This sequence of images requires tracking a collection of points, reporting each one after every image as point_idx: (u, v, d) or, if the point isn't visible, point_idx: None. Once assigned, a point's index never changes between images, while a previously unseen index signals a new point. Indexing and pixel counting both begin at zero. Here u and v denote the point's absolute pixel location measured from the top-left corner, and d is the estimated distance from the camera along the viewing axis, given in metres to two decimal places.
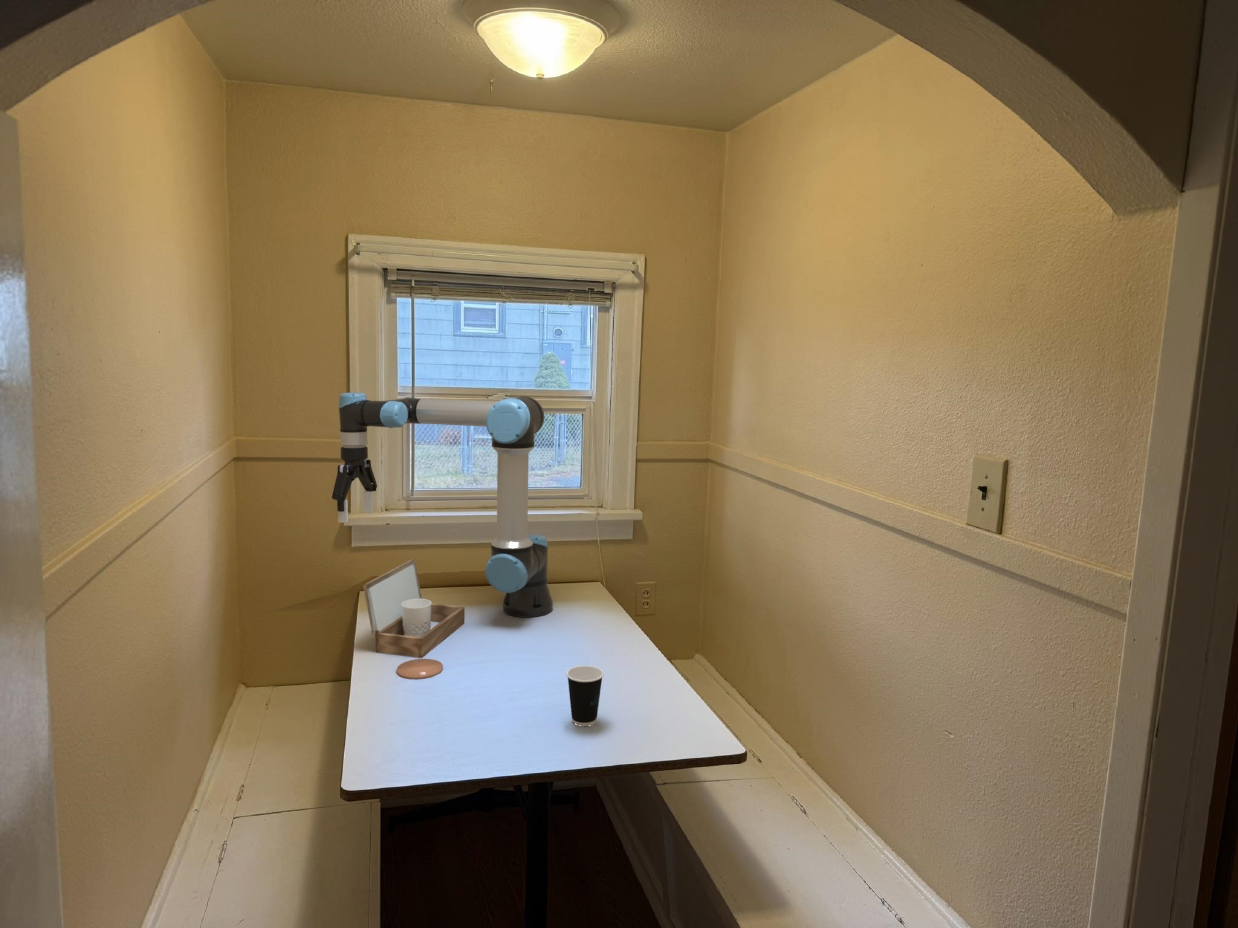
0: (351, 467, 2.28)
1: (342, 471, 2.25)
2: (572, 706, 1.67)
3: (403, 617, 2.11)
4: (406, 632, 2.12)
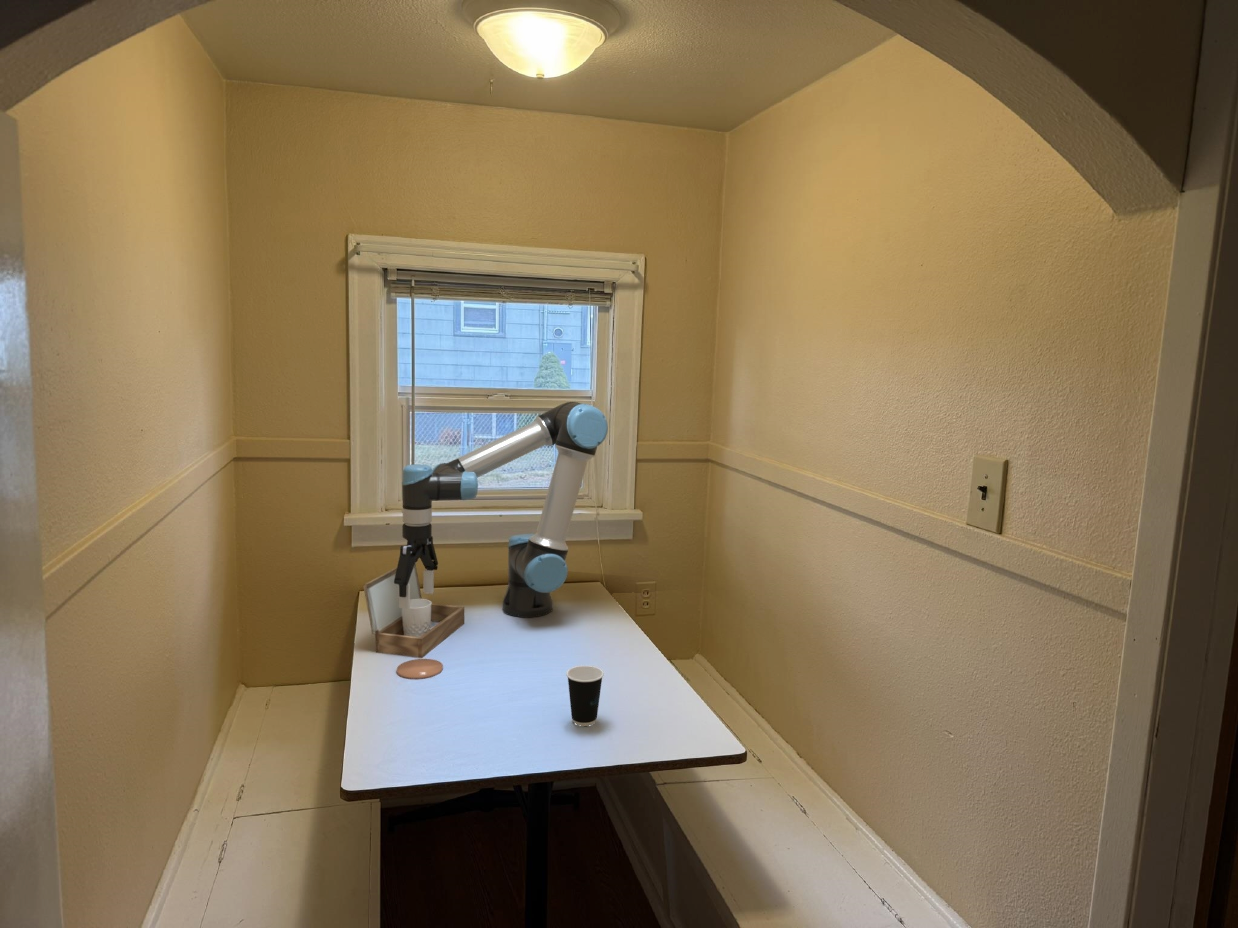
0: (414, 547, 2.07)
1: (405, 553, 2.04)
2: (572, 706, 1.67)
3: (403, 617, 2.11)
4: (406, 632, 2.12)
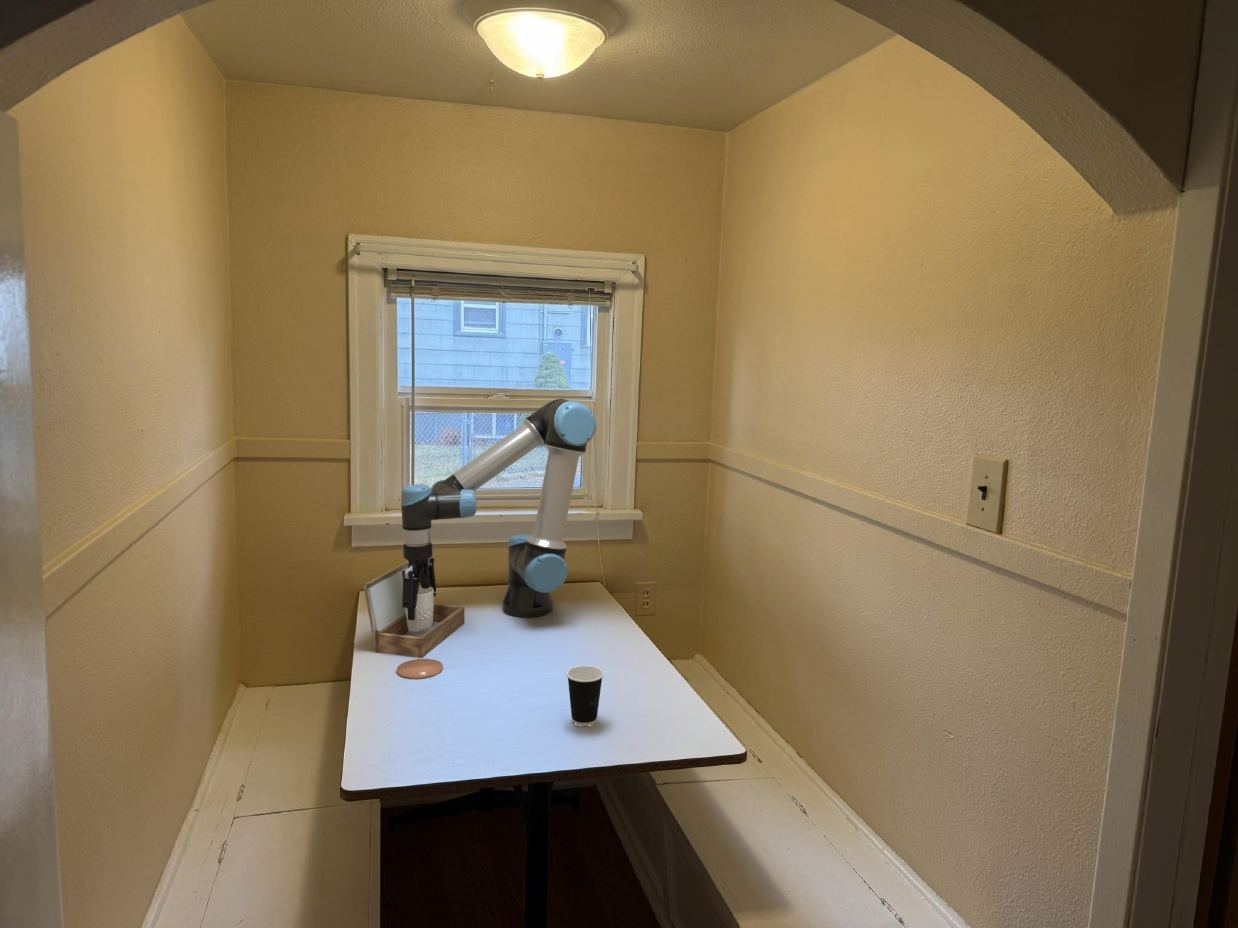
0: (416, 568, 2.08)
1: (408, 577, 2.06)
2: (572, 706, 1.67)
3: None
4: None
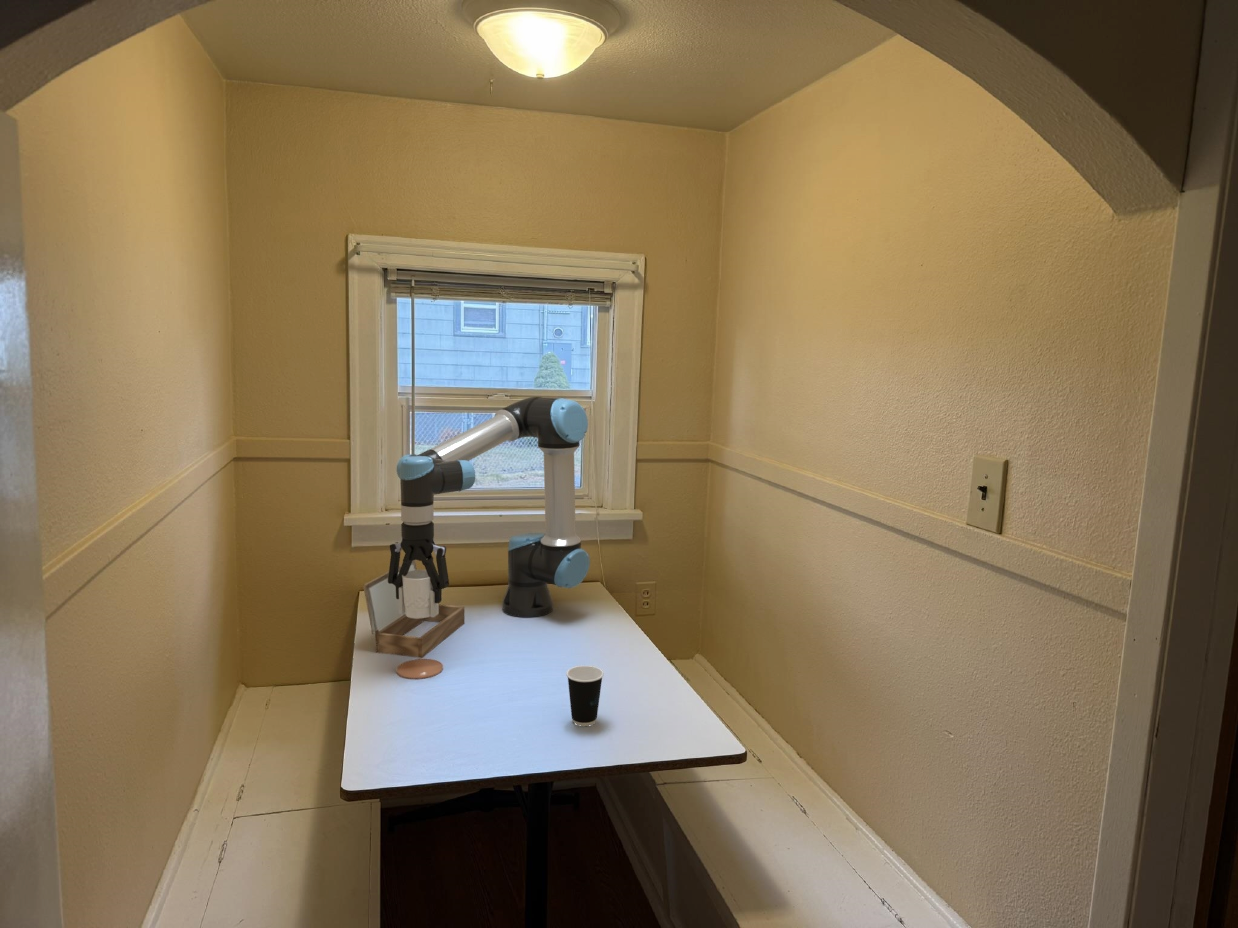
0: (402, 545, 1.89)
1: None
2: (572, 706, 1.67)
3: None
4: None
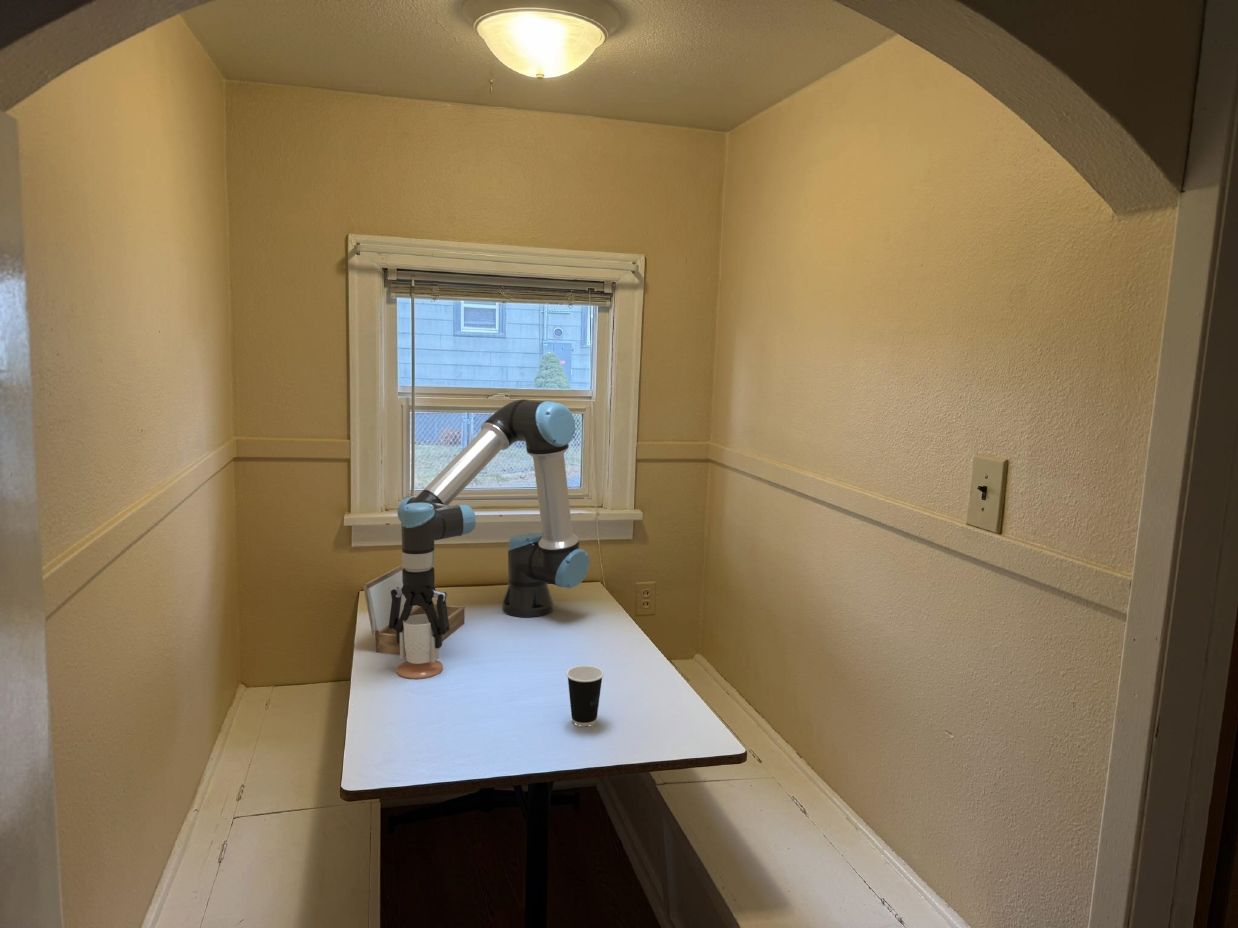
0: (403, 591, 1.91)
1: None
2: (572, 706, 1.67)
3: None
4: None
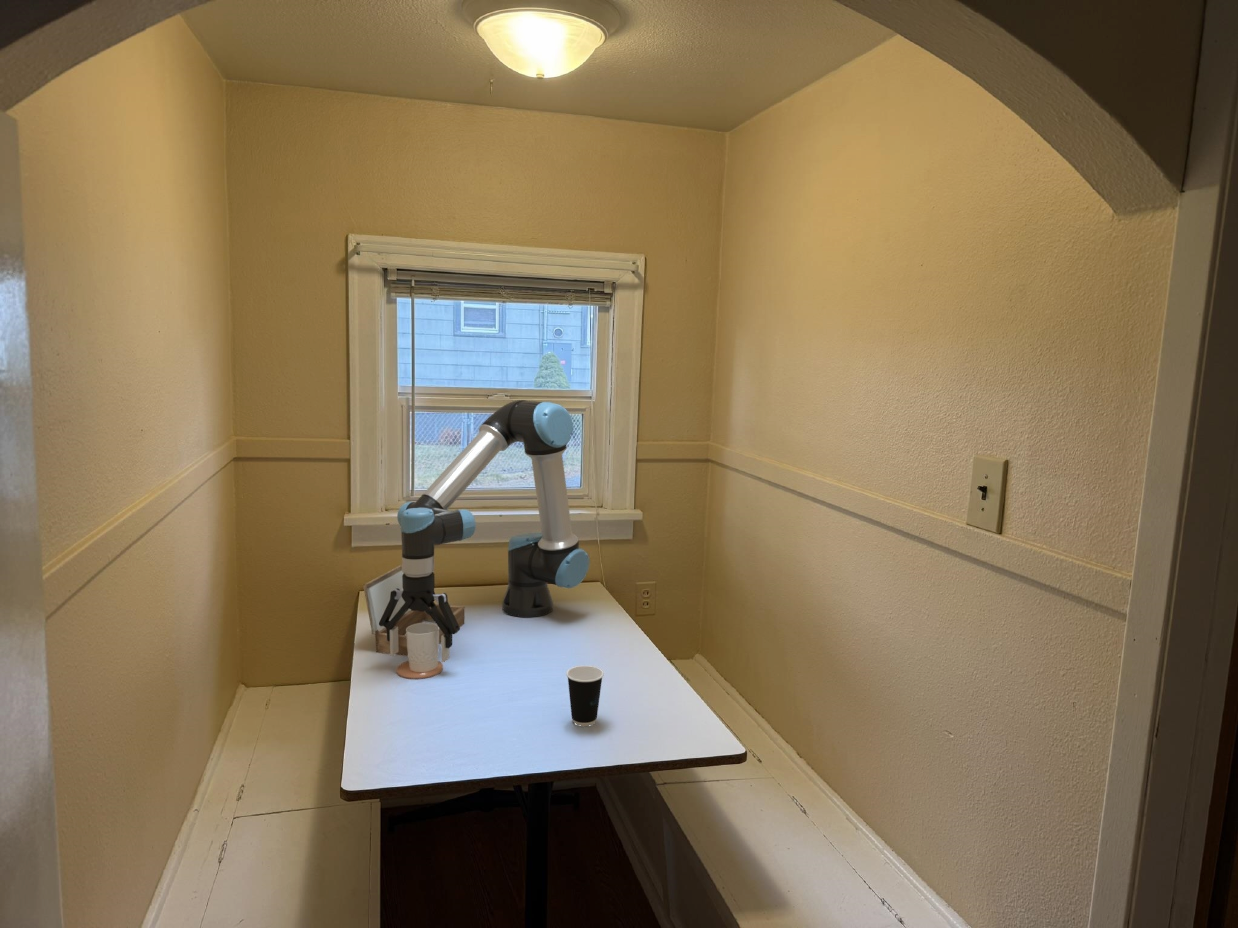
0: (403, 595, 1.91)
1: None
2: (572, 706, 1.67)
3: None
4: None
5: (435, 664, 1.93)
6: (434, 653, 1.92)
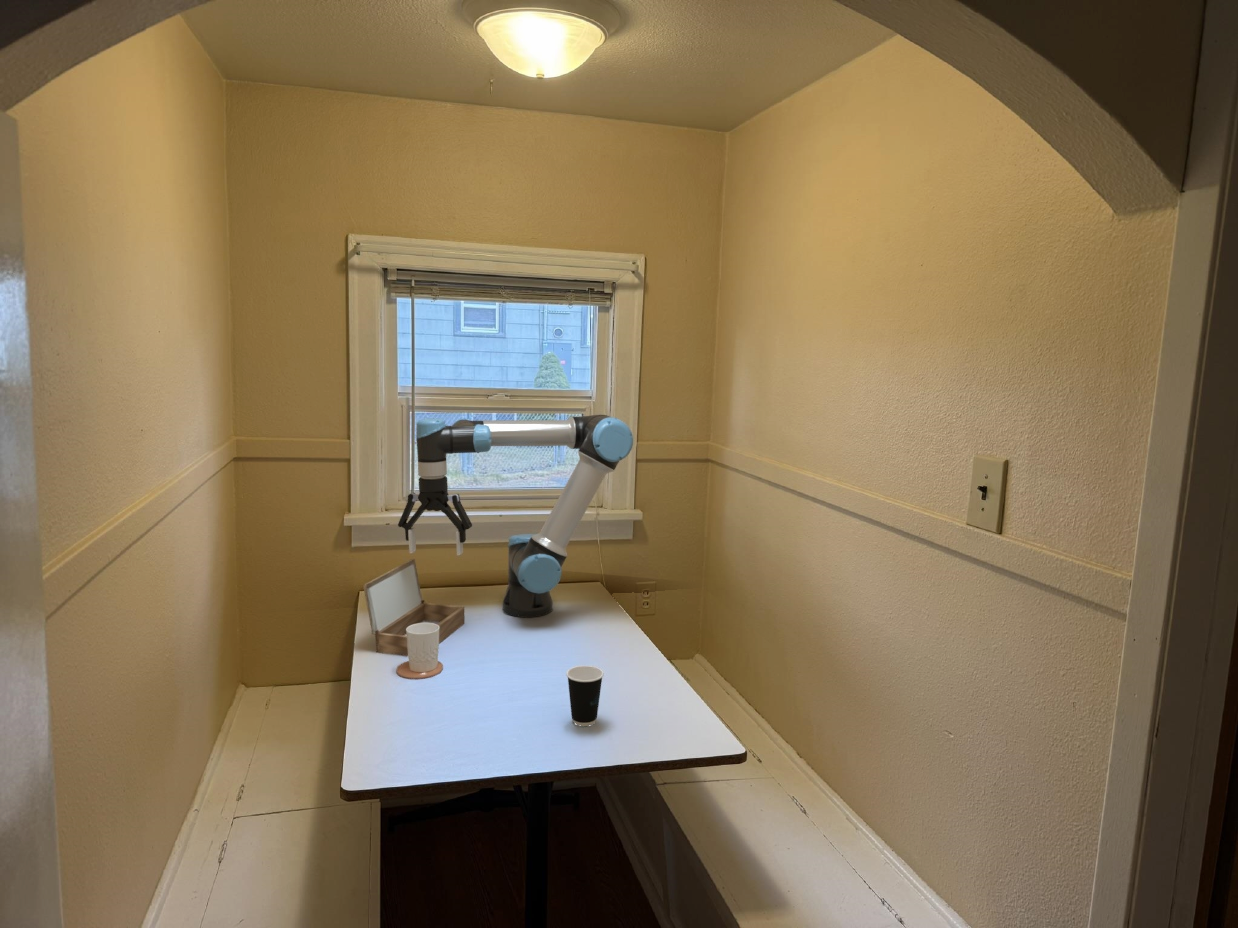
0: (420, 497, 2.13)
1: None
2: (572, 706, 1.67)
3: None
4: None
5: (435, 664, 1.93)
6: (434, 653, 1.92)
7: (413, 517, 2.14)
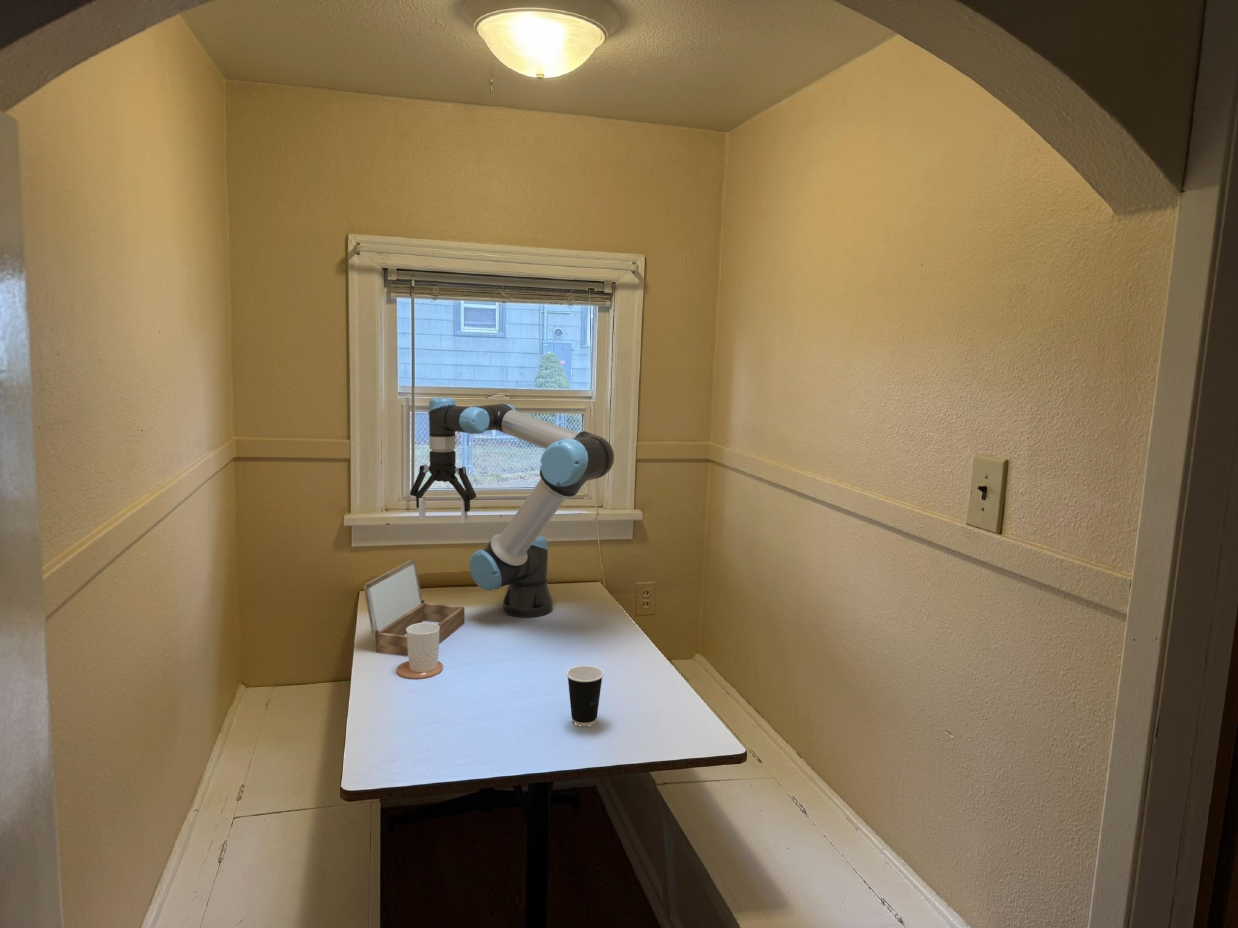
0: (430, 469, 2.34)
1: None
2: (572, 706, 1.67)
3: None
4: None
5: (435, 664, 1.93)
6: (434, 653, 1.92)
7: (423, 486, 2.36)
